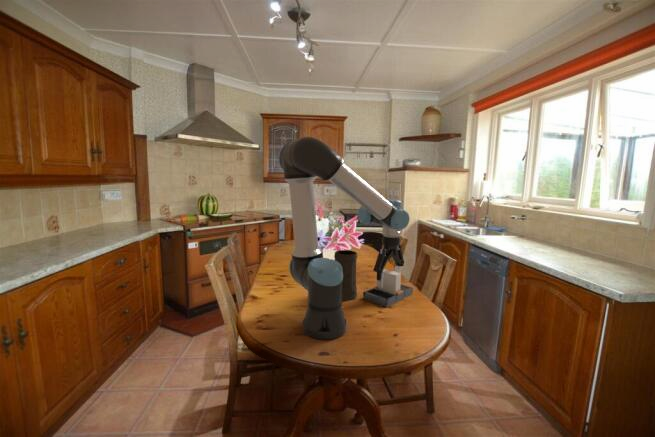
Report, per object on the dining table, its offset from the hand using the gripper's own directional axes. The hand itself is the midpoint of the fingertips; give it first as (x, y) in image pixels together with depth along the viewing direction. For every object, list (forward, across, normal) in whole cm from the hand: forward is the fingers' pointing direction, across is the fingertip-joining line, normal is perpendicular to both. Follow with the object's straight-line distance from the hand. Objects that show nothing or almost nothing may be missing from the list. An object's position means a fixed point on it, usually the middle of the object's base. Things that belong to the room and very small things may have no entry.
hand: (388, 283), depth 133 cm
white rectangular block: (+5, 0, 0) cm, 5 cm away
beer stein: (+6, -11, +15) cm, 20 cm away
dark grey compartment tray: (+6, 0, 0) cm, 6 cm away
